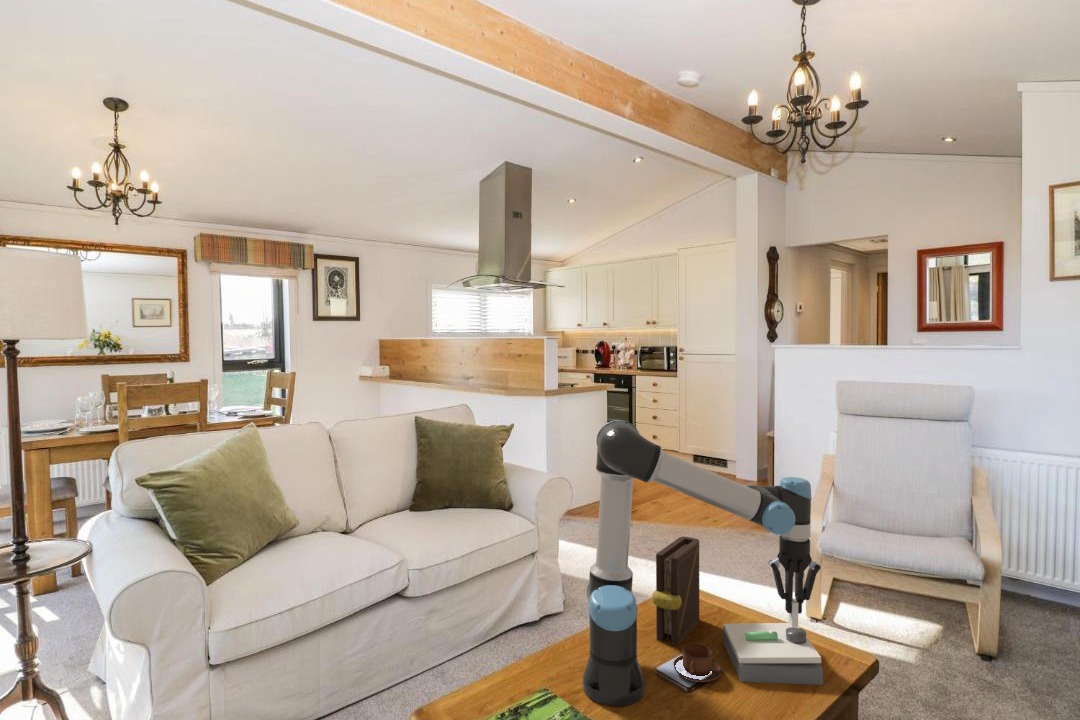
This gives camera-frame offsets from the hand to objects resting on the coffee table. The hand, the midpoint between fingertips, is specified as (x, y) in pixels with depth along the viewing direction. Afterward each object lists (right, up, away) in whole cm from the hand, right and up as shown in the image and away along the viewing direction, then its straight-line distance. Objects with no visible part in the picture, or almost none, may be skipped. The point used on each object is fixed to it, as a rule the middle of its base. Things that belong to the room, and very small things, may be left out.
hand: (793, 624), depth 156 cm
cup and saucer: (-27, -11, -4) cm, 29 cm away
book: (-27, -10, +18) cm, 34 cm away
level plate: (-6, -6, +1) cm, 8 cm away
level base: (-6, -10, +1) cm, 12 cm away
